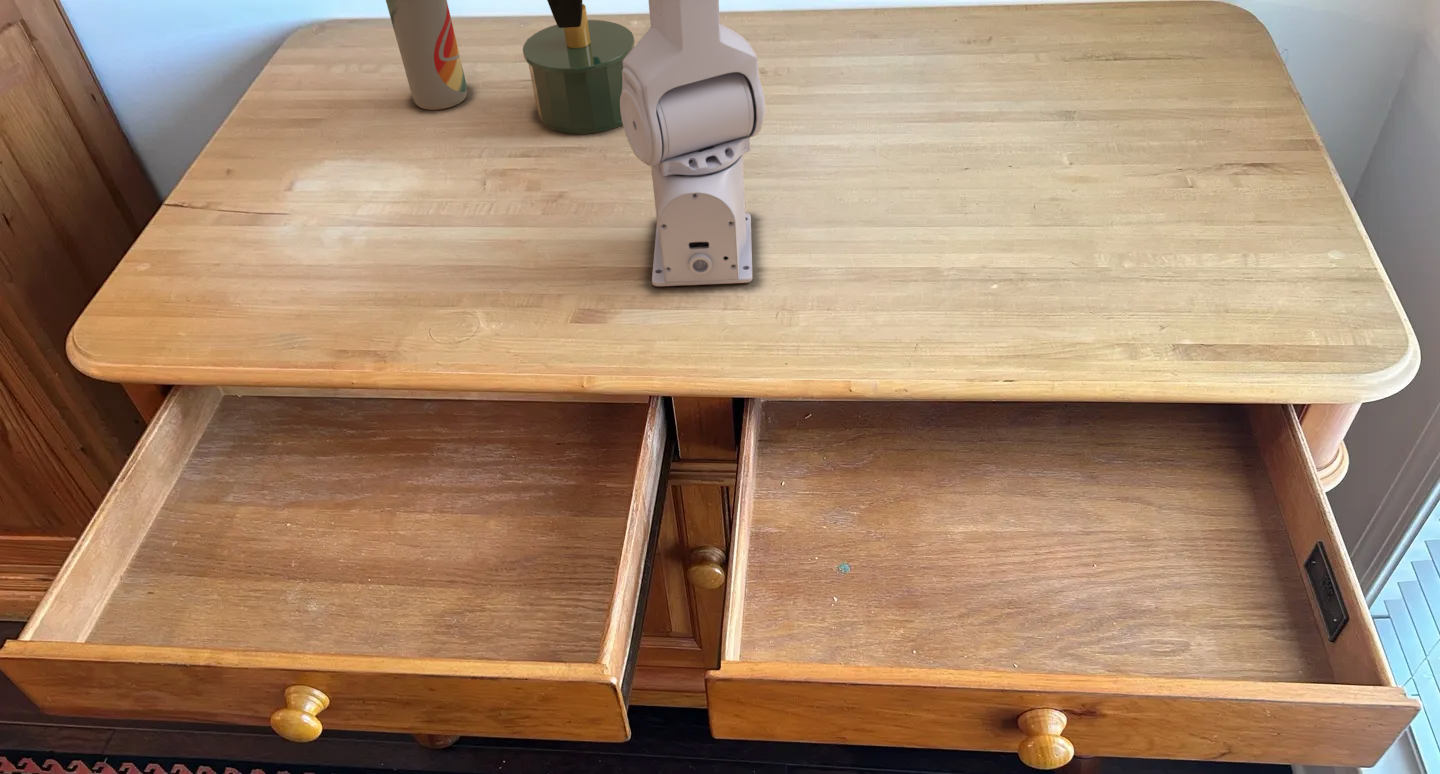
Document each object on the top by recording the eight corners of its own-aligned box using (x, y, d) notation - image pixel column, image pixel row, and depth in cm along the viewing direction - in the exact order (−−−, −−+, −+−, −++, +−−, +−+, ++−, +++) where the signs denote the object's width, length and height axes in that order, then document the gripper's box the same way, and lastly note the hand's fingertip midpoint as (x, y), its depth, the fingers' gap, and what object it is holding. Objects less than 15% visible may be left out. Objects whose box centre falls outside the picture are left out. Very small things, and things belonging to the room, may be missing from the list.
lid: (631, 76, 98) (625, 29, 95) (517, 82, 99) (507, 35, 96) (638, 27, 106) (633, -18, 103) (532, 33, 107) (524, -12, 104)
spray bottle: (479, 89, 111) (433, -110, 98) (447, 114, 107) (395, -90, 94) (435, 82, 113) (384, -116, 100) (402, 106, 109) (345, -96, 96)
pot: (636, 131, 103) (628, 69, 98) (532, 136, 103) (520, 74, 99) (642, 83, 110) (635, 23, 106) (545, 88, 111) (535, 28, 106)
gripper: (517, -168, 96) (542, -20, 105) (490, -117, 85) (521, 44, 94) (593, -173, 96) (612, -23, 105) (577, -122, 85) (599, 40, 94)
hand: (574, 8), depth 100 cm, fingers open, 7 cm apart
